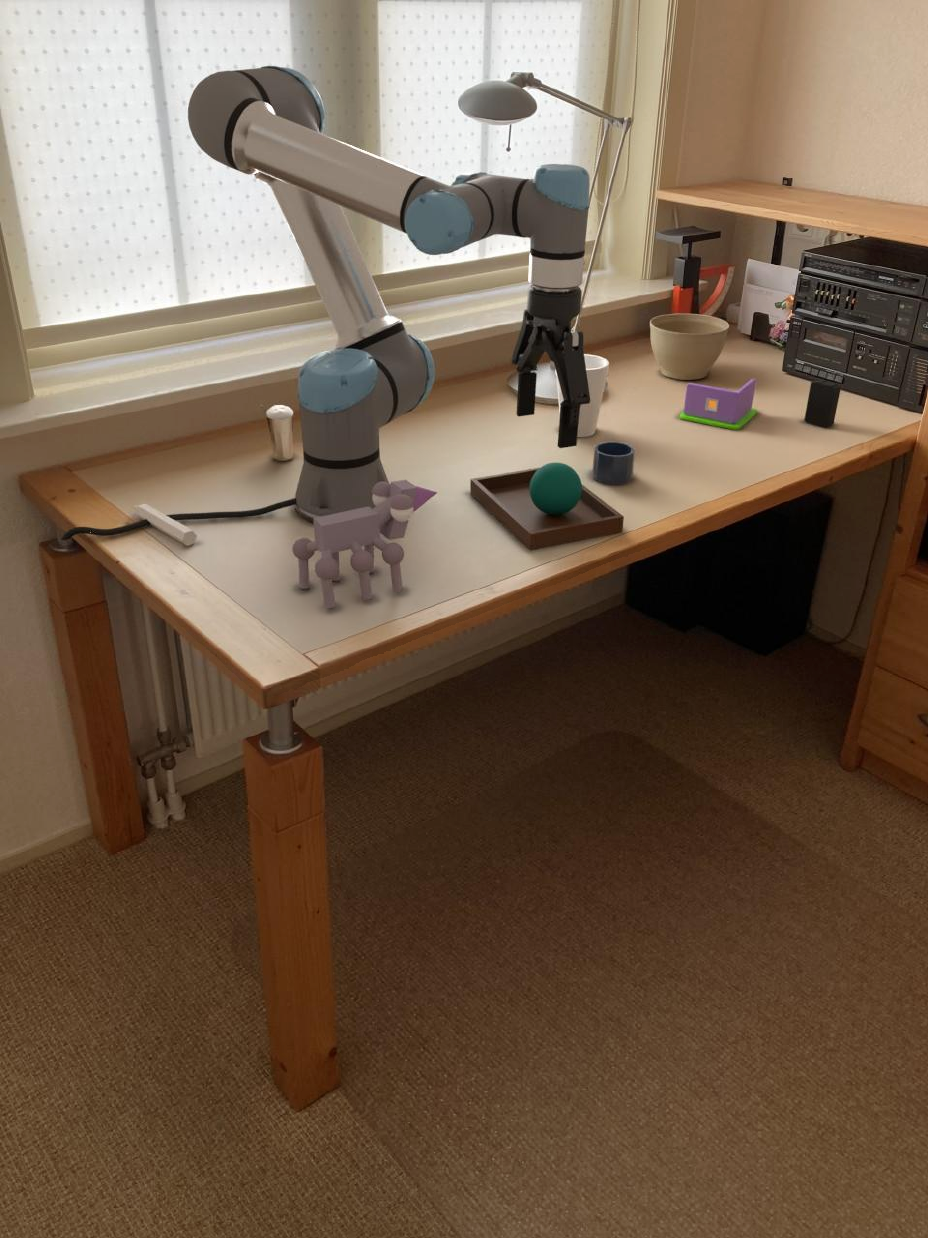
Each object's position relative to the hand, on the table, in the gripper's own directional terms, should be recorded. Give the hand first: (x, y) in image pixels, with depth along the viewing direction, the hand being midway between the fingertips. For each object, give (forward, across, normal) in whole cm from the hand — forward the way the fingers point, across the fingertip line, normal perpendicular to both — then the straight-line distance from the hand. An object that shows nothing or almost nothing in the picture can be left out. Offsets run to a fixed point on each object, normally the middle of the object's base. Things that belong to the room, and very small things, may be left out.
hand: (545, 430), depth 159 cm
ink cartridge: (+13, +14, -66) cm, 69 cm away
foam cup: (+14, +28, -22) cm, 39 cm away
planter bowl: (+14, +50, -59) cm, 79 cm away
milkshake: (+14, +36, +32) cm, 50 cm away
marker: (+14, +17, +55) cm, 60 cm away
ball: (+9, -2, -1) cm, 9 cm away
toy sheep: (+14, -12, +32) cm, 36 cm away
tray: (+13, 0, 0) cm, 13 cm away
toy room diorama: (+13, +26, -51) cm, 59 cm away
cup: (+13, +8, -17) cm, 23 cm away
